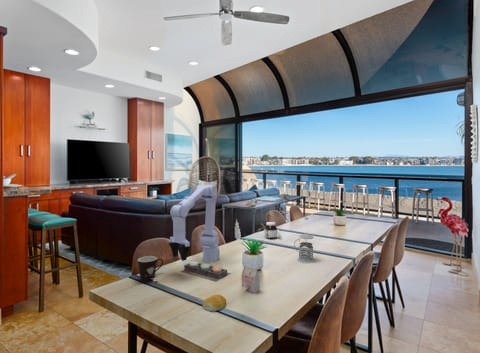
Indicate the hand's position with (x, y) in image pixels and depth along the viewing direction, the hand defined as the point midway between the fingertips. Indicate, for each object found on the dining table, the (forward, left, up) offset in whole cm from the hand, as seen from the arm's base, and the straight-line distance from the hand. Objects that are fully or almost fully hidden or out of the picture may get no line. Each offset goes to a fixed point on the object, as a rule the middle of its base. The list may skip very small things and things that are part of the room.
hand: (179, 258), depth 138 cm
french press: (-59, +40, -10) cm, 72 cm away
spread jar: (-96, +2, -10) cm, 96 cm away
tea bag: (-8, +35, -10) cm, 37 cm away
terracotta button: (-10, +15, -7) cm, 19 cm away
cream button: (-10, 0, -7) cm, 12 cm away
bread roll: (+12, +31, -10) cm, 35 cm away
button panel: (-10, +8, -10) cm, 16 cm away
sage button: (-10, +7, -7) cm, 14 cm away
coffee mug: (+8, -11, -10) cm, 17 cm away
